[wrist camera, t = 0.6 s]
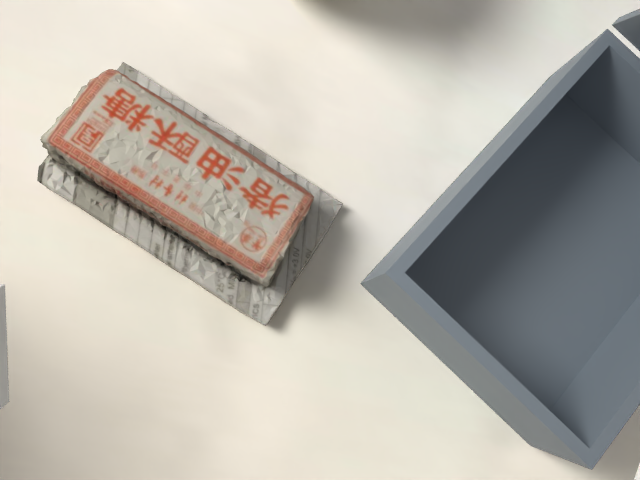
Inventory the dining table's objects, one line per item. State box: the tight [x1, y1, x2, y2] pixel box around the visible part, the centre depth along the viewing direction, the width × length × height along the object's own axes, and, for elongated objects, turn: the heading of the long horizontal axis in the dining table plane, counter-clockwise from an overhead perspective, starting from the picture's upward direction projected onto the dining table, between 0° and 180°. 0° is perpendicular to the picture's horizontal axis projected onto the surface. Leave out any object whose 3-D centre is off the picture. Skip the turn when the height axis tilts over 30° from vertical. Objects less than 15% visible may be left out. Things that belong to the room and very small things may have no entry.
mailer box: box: [360, 29, 640, 469], centre depth 38 cm, size 22×16×7 cm
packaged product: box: [37, 62, 343, 326], centre depth 37 cm, size 18×5×10 cm
